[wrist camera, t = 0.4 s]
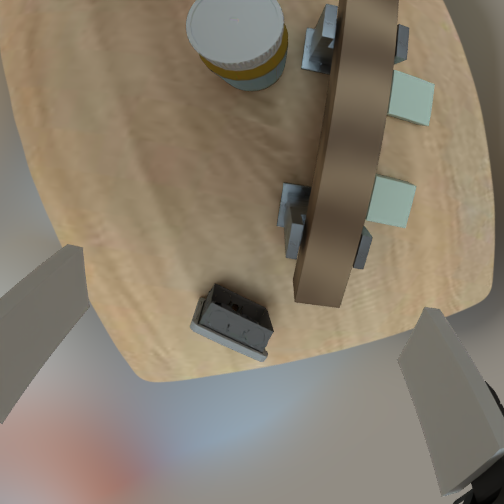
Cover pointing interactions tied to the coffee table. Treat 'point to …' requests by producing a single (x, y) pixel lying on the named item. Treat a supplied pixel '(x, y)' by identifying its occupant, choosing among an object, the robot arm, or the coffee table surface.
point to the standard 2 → (323, 39)
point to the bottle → (240, 40)
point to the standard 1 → (294, 220)
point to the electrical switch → (233, 322)
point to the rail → (347, 149)
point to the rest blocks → (390, 189)
